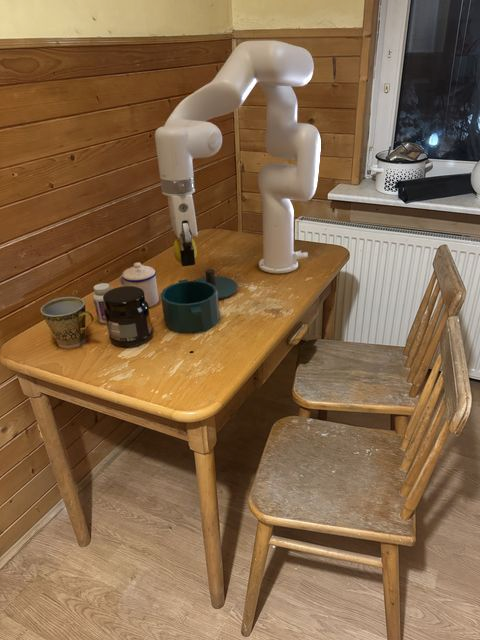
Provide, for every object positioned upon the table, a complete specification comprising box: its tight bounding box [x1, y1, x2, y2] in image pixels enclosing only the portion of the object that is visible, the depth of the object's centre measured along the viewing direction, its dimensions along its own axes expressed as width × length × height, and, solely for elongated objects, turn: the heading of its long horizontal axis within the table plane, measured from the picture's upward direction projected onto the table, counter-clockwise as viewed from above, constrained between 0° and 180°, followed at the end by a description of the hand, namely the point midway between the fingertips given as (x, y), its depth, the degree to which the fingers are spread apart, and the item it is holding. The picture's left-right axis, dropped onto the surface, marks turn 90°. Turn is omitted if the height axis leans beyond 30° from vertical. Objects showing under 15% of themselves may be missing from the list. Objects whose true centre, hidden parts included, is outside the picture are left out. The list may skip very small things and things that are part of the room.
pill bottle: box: [92, 282, 111, 325], centre depth 132 cm, size 5×5×10 cm
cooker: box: [160, 279, 220, 334], centre depth 131 cm, size 14×20×8 cm
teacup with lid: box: [118, 262, 160, 308], centre depth 140 cm, size 12×9×12 cm
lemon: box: [172, 234, 198, 264], centre depth 123 cm, size 6×6×8 cm
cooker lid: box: [192, 268, 238, 300], centre depth 147 cm, size 15×15×6 cm
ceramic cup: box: [40, 296, 95, 350], centre depth 122 cm, size 13×10×10 cm
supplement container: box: [103, 286, 153, 348], centre depth 123 cm, size 10×10×12 cm
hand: (186, 259), depth 124 cm, fingers closed on lemon, 5 cm apart
